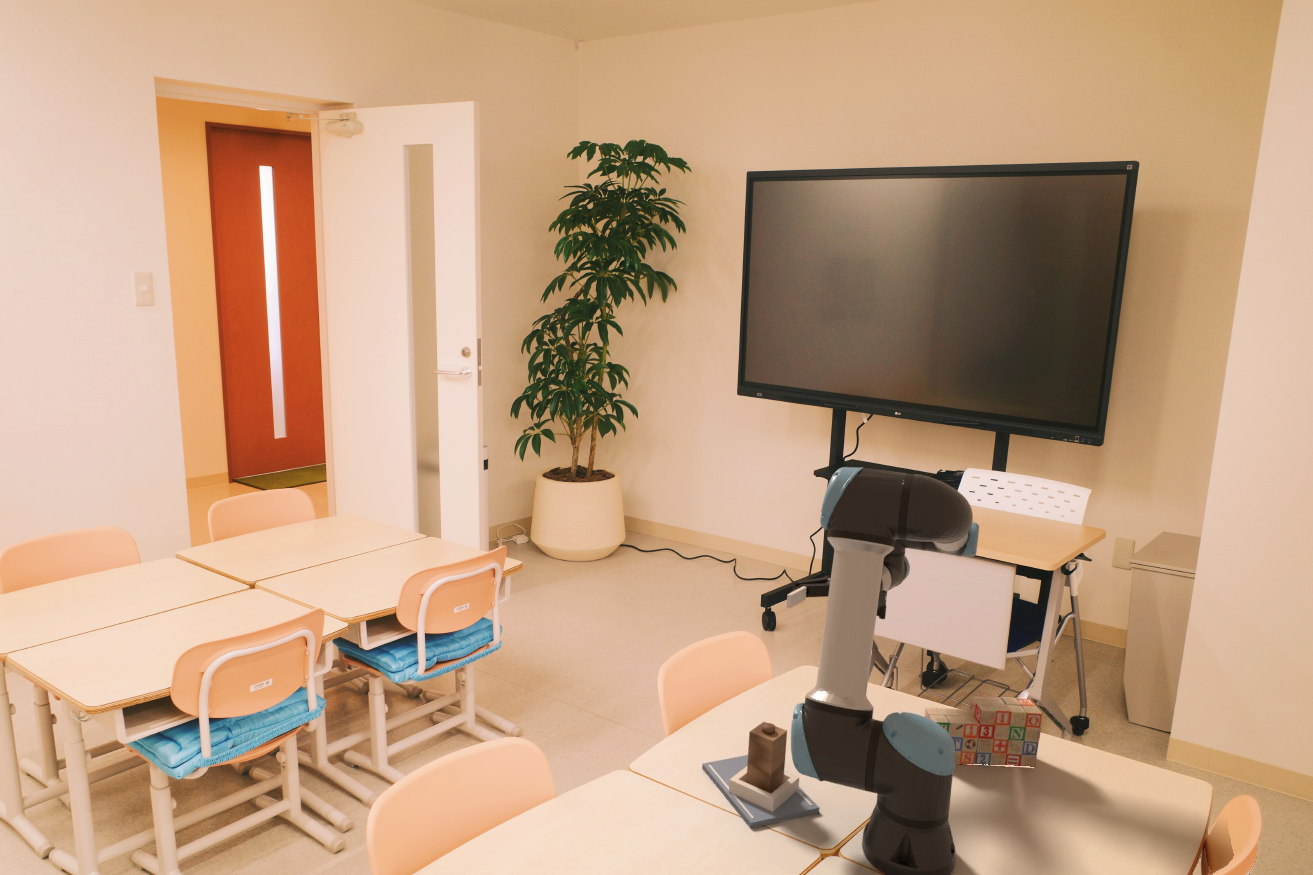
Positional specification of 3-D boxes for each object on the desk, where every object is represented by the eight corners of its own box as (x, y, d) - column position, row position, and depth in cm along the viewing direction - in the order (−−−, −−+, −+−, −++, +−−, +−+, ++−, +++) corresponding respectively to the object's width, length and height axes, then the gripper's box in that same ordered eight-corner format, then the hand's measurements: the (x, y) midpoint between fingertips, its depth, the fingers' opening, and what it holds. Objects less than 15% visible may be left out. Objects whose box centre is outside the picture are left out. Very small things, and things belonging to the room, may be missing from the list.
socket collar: (798, 789, 165) (799, 776, 165) (772, 811, 158) (773, 799, 158) (755, 770, 171) (756, 758, 171) (728, 791, 164) (729, 779, 163)
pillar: (782, 789, 165) (787, 725, 163) (769, 801, 161) (773, 735, 159) (760, 779, 168) (764, 716, 166) (745, 790, 164) (749, 726, 162)
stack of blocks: (928, 764, 178) (934, 707, 176) (920, 747, 184) (926, 692, 182) (1035, 769, 178) (1043, 712, 175) (1023, 752, 184) (1030, 697, 181)
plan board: (818, 812, 160) (819, 806, 160) (750, 827, 155) (750, 822, 155) (765, 755, 178) (765, 750, 178) (702, 768, 173) (702, 762, 173)
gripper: (921, 614, 181) (878, 646, 164) (812, 585, 196) (762, 611, 179) (925, 579, 179) (881, 608, 163) (815, 552, 194) (765, 576, 178)
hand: (819, 610), depth 171 cm, fingers open, 13 cm apart
